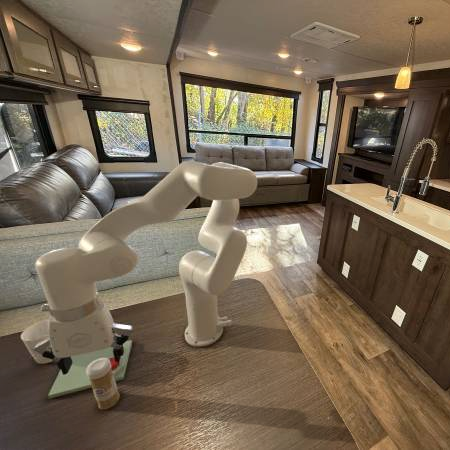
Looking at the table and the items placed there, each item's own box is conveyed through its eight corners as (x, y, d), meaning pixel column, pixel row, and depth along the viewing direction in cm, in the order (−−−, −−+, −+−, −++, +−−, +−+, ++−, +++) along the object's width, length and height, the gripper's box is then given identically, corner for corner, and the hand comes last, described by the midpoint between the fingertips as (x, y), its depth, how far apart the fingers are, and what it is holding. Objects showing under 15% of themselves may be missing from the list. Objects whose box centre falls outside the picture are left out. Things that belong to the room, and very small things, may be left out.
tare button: (119, 360, 72) (118, 355, 71) (116, 369, 69) (115, 365, 68) (106, 363, 70) (104, 359, 70) (102, 373, 68) (101, 369, 67)
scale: (132, 342, 80) (130, 335, 79) (123, 379, 69) (121, 372, 68) (69, 356, 74) (66, 349, 73) (49, 399, 63) (45, 391, 62)
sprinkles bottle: (96, 413, 61) (82, 377, 56) (100, 395, 65) (88, 360, 60) (118, 406, 63) (107, 370, 58) (121, 389, 67) (111, 354, 62)
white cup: (47, 369, 70) (35, 343, 66) (25, 362, 71) (12, 336, 67) (76, 346, 77) (67, 322, 73) (55, 340, 78) (45, 316, 75)
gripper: (8, 327, 45) (37, 389, 51) (122, 309, 52) (134, 366, 58) (30, 301, 51) (53, 359, 58) (129, 287, 58) (140, 341, 65)
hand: (94, 362), depth 58 cm, fingers open, 9 cm apart
